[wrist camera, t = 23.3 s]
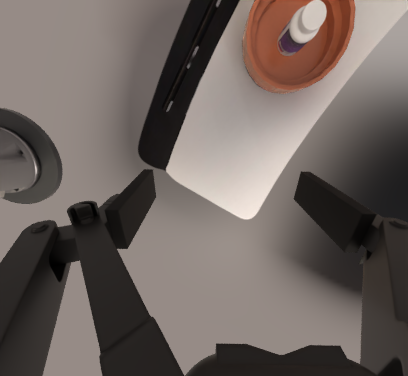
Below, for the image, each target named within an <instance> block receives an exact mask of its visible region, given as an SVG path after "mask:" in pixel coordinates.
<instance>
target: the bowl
mask: <svg viewBox="0 0 408 376" xmlns="http://www.w3.org/2000/svg"><path fill="white" fill-rule="evenodd" d="M311 1H313V0H255V1H254V4H253V6H252V8H251V10H250V13H249V16H248V19H247V22H246V25H245V30H244V35H243V41H242V47H243V59H244V62H245V65H246V68H247V70H248V73H249V75H250V76H251V77H252V79H253V80H254V81H255V82H256V83H257V85H258V86H260V87H262V88H264V89H265V90H267V91H269V92H273V93H279V94H286V93H291V92H296V91H299V90H301V89H304V88H306V87H308V86H310V85H312V84H314V83H316V82H317V81H319V80H321V79H322V78H323V77H324V76H326V75H327V74H328V73H329V72H330V71H331V70H332V69H333V68H334V67H335V66H336V64H337V63H338V61H339V60H340V58H341V57H342V55H343V53H344V52H345V50H346V49H347V46H348V43H349V40H350V37H351V35H352V32H353V29H354V18H355V3H354V0H321V1H322V2H323V3H324V4H325V6H326V10H327V14H326V18H325V20H324V22H323V24H322V25H321V26H320V28H319V30H318V32H317V34H316V35H315V36H314V37H313V38H312V39H311V40H310V41H309V42H308V43H307V44H305V45H304V46H303V47H302V48H301V49H300V50H299V51H298V52H296V53H295V54H293V55H291V56H284V55H282V54H281V53H280V52H279V50H278V47H277V41H278V37H279V35H280V33H281V31H282V30H283V29H284V27H285V26H286V25H287V23H288V22H289V21H290V19H291V18H292V17H293V15H294V14H295V13H296V12H297V11H298V10H299V9H300V8H301V7H303V6H306V5H307V4H308V3H310V2H311Z"/></svg>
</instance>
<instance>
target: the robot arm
mask: <svg viewBox="0 0 408 376" xmlns="http://www.w3.org/2000/svg"><path fill="white" fill-rule="evenodd" d="M40 176H41V163H40V160H39V157H38V155H37V153H36V151H35V150H34V148H33V147H32V146H31V144H30V143H29V142H28V141H27V140H26V139H25V138H24V137H22V136H21V135H20V134H18V133H17V132H15V131H13V130H11V129H8V128H5V127H1V126H0V198H3V197H4V194H5V193H14V192H20V191H24V190H27V189H30V188H32V187H33V186H35V185H36V184H37V182H38V181H39V179H40ZM155 198H156V192H155V184H154V176H153V170H146V169H145V170H143V171H142V172H141V173H140V174H139V175H138V176H137V177H136V178H135V179H134V180H133V181H132V182H131V183H130V185H128V187H126V188H125V189H124V191H123V192H122V193H121V194H116V195H114V196H112V197H110V198H109V199H108V200H107V201H106V202H105V203H104V204H103V205H102V206H100V207H99V208H98V207H97V203H96V202H94V201H84V202H79V203H76V204H74V205H72V206H70V207H69V208H68V210H67V213H68V216H69V218H70V221H71V223H72V225H69V226H63V227H57V224H56V222H55V221H51V220H47V221H42V222H37V223H35V224H32V225H31V226H29V227H27V228H26V229H25V230H23V231H22V233H21V234H20V236H19V237H18V239H17V240H16V241H15V243H14V244H13V246H12V247H11V249H10V250H9V251H8V253H7V254H6V256H5V257H4V258H3V260H2V262H1V263H0V376H42V375H43V371H44V367H45V363H46V360H47V355H48V351H49V347H50V344H51V340H52V335H53V332H54V328H55V324H56V320H57V316H58V312H59V308H60V304H61V300H62V296H63V292H64V288H65V285H66V280H67V277H68V273H69V268H70V265H71V262H75V261H79V260H80V262H81V267H82V271H83V276H84V280H85V285H86V289H87V293H88V298H89V302H90V307H91V311H92V316H93V320H94V325H95V329H96V333H97V338H98V342H99V346H100V353H101V354H100V364H101V370H102V375H103V376H184V374H183V373H182V371H181V369H180V367H179V365H178V363H177V361H176V359H175V357H174V355H173V353H172V351H171V349H170V347H169V345H168V343H167V342H166V340H165V338H164V336H163V334H162V332H161V330H160V328H159V326H158V324H157V322H156V320H155V319H154V318H153V317H151V316H150V315H149V313H148V311H147V309H146V307H145V305H144V303H143V301H142V299H141V297H140V295H139V293H138V291H137V289H136V287H135V285H134V283H133V281H132V279H131V277H130V275H129V273H128V271H127V269H126V267H125V265H124V263H123V261H122V259H121V257H120V255H119V253H118V251H117V249H128V247H129V245H130V243H131V241H132V240H133V238H134V236H135V234H136V232H137V231H138V229H139V227H140V225H141V223H142V222H143V220H144V218H145V216H146V214H147V213H148V211H149V209H150V207H151V205H152V203H153V201H154V200H155ZM294 200H295V201H296V202H297V203H298V204H299V205H300V206H301V207H302V208H303V209H304V210H305V211H306V212H307V214H308V215H310V217H311V218H312V219H313V220H314V221H315V222H316V223H317V224H318V225H319V226H320V227H321V228H322V229H323V230H324V231H325V232H326V234H327V235H328V236H329V237H330V238H331V239H332V240H333V241H334V242H335V243H336V244H337V245H338V246H339V247H340V248H341V249H342V250H343V251H344V252H357V251H358V249H359V248H360V246H361V244H362V245H363V246H364V247H365V248H366V251H365V253H364V255H363V256H362V258H361V260H360V262H359V264H362V263H363V294H362V296H363V297H362V298H363V299H362V331H361V359H360V364H358V363H356V362H354V361H352V360H349V359H347V358H346V355H345V354H344V352H343V350H342V349H341V347H340V346H321V345H317V346H316V345H309V346H306V347H304V348H301V349H298V350H296V351H293V352H290V353H288V354H285V355H278V354H275V353H271V352H269V351H265V350H263V349H260V348H257V347H254V346H251V345H248V344H216V353H215V354H213V355H211V356H208V357H206V358H205V359H203V360H201V361H200V362H198V363H197V364H196V365H195V366H194V367H193V368H192V369H191V370H190V371H189V372H188V373H187V374H186V375H185V376H408V223H407V222H405V221H402V220H399V219H395V218H383V217H381V216H379V215H378V214H376V213H375V212H373V211H371V210H370V209H368V208H367V207H365V206H363V205H361V204H360V203H359V202H357V201H356V200H354V199H352V198H350V197H349V196H347V195H346V194H344V193H343V192H341V191H339V190H338V189H336V188H335V187H333V186H331V185H330V184H328V183H327V182H325V181H323V180H322V179H320V178H319V177H317V176H315V175H314V174H312V173H311V172H301V174H300V177H299V181H298V185H297V189H296V192H295V196H294Z"/></svg>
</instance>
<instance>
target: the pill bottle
mask: <svg viewBox="0 0 408 376" xmlns="http://www.w3.org/2000/svg"><path fill="white" fill-rule="evenodd" d="M326 14H327V10H326V6H325V4H324V3H323V2H322V1H321V0H313V1H311V2H310V3H308V4H307V5H306V6H303V7H301V8H300V9H299V10H298V11H297V12H296V13H295V14H294V15H293V17H292V18H291V19H290V21H289V22H288V23H287V25H286V26H285V27H284V29H283V30H282V31H281V33H280V35H279V37H278V41H277V47H278V50H279V52H280V53H281V54H282V55H284V56H291V55H293V54H295V53H296V52H298V51H299V50H300V49H301V48H302V47H303V46H304V45H305V44H307V43H308V42H309V41H310V40H311V39H312V38H313V37H314V36H315V35H316V34H317V32H318V30H319V28H320V26H321V25H322V24H323V22H324V20H325V18H326Z"/></svg>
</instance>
